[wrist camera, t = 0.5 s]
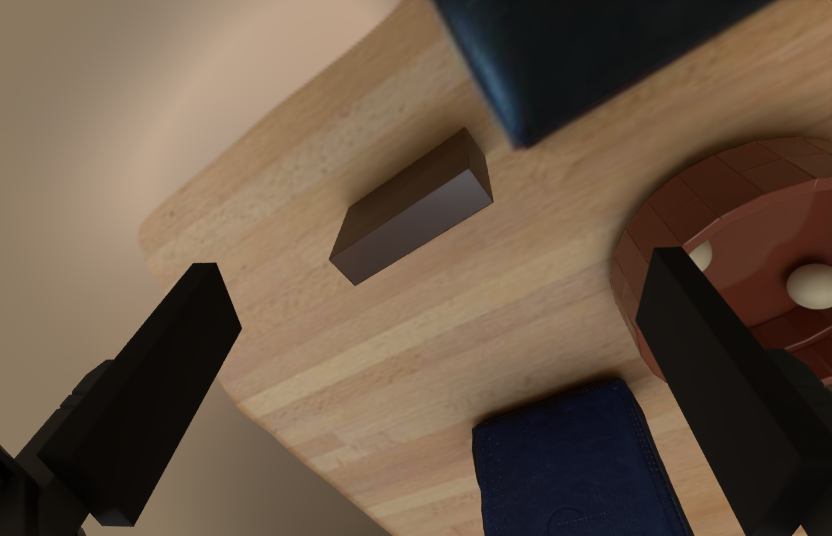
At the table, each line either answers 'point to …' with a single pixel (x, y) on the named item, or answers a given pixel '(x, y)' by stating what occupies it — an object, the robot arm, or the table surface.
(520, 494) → the blue rectangular block
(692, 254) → the bead
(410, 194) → the dark brown brick
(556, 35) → the table surface
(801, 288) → the bead
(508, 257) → the table surface
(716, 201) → the bowl
